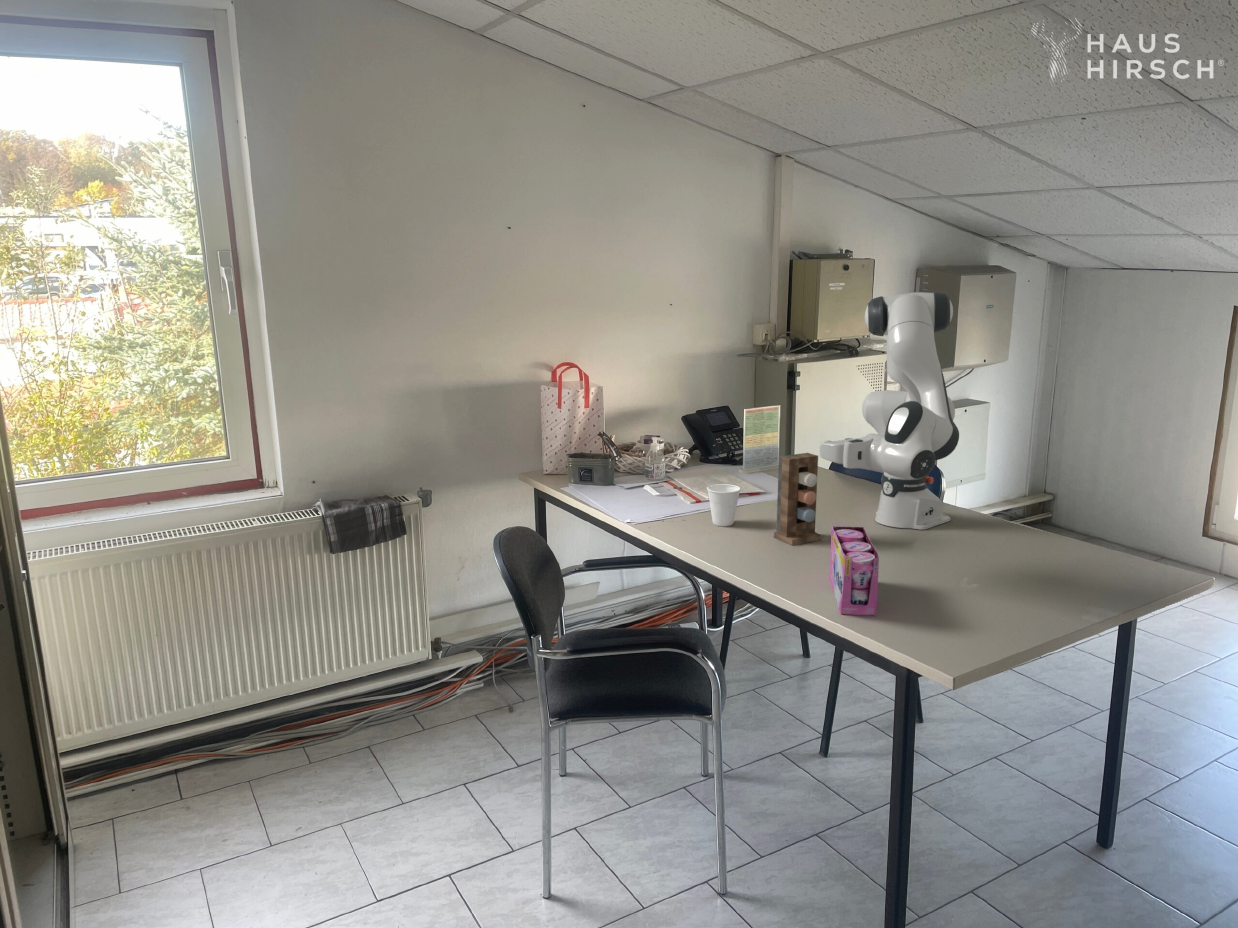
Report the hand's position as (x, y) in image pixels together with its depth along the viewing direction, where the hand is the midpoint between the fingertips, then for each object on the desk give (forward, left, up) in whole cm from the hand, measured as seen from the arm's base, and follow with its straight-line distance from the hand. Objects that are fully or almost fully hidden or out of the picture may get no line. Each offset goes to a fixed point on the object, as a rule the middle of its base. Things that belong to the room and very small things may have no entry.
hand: (836, 442), depth 223 cm
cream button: (0, -11, -14) cm, 18 cm away
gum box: (+17, +26, -30) cm, 43 cm away
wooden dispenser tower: (0, -14, -30) cm, 33 cm away
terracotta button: (0, -11, -19) cm, 22 cm away
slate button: (0, -11, -24) cm, 26 cm away
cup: (+10, -36, -30) cm, 48 cm away
